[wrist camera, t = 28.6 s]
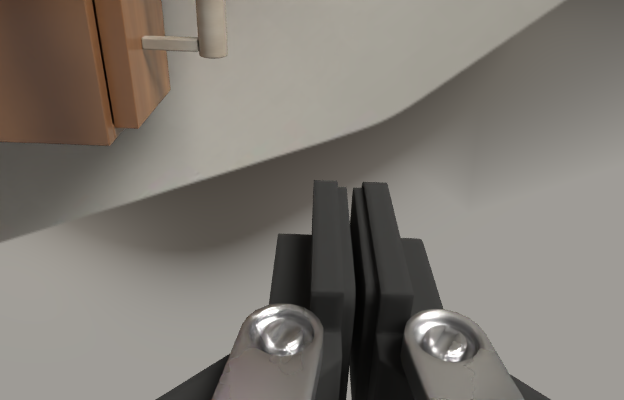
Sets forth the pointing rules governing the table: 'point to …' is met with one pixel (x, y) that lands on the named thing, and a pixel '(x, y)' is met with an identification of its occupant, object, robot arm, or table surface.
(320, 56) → the table surface
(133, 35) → the drawer
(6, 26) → the cabinet
